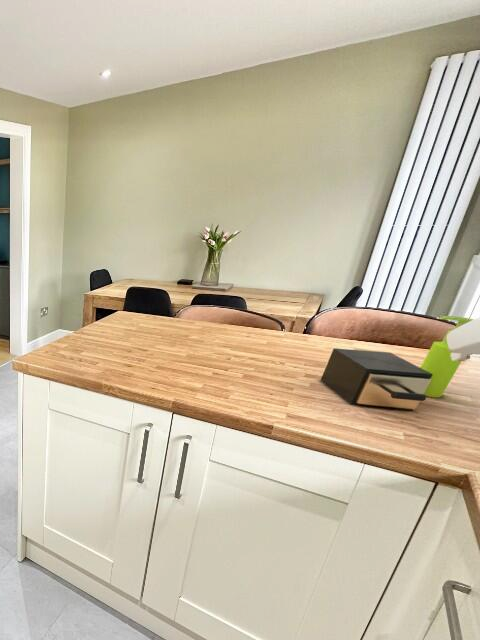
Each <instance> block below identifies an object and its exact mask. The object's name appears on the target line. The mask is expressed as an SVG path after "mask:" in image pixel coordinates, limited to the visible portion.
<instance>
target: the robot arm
mask: <svg viewBox="0 0 480 640" xmlns="http://www.w3.org/2000/svg"><path fill="white" fill-rule="evenodd" d="M453 329H454V330H452V329H451V330H452V331H451V332H449V333H448V334H447V345H448V348H449V350H450V352H452V353H451V359H452V360H453V361H461V362H466V361H467V360H470V359H471V356H472V355H478V356H480V316H478V317H476V318H474V320H472V321H470V322H468V323H465V324H463V325H461V326H460V327H458V328H456V329H455V328H453Z"/></svg>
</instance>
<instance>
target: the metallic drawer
mask: <svg viewBox="0 0 480 640" xmlns="http://www.w3.org/2000/svg"><path fill="white" fill-rule="evenodd" d="M430 382H431V379H429V378H426V377H419V376H409V375H397V374H386V373H374V372H369V373H368V375H367V378H366V380H365V382H364V384H363V386H362V388H361V390H360V392H359V395H358V397H357V399H356V401H355V402H357V403H358V404H367V405H377V406H387V407H397V408H407V409H414V410H417V407H418V405H419V404H420V402H425V401H426V399H427V396H426V395H425V394H424V393H425V391H426V389H427V387H428V385H429V383H430Z"/></svg>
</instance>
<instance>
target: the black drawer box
mask: <svg viewBox="0 0 480 640" xmlns="http://www.w3.org/2000/svg"><path fill="white" fill-rule="evenodd" d="M420 367H421V366H417V365H416V364H414V363H412V362H409V361H408V360H405V359H404V358H402V357H400V356H398V355H396V354H394V353H392V352H387V351H376V350H375V351H373V350H363V349H362V350H360V349H347V348H336V347H335V348H333V349H332V351H331V354H330V356H329V358H328V361H327V363H326V365H325V369H324V371H323V373H322V376H321V378H320V382H321V383H323V384H324V385H325V386H327V387H328V388H329V389H330V390H332V391H333V392H334V393H336V394H337V395H338V396H339V397H340V398H342V400H345V401H346V402H347V403H348V404H350V405H353V406H362V407H363V406H364V407H371V408H373V407H374V408H384V409H391V410H392V409H393V410H402V411H404V410H405V411H411V412H412V411H414V410H415V409H407V408H397V407H387V406H377V405H367V404H358V403H357V402H355V401H356V399H357V397H358V395H359V392H360V390H361V388H362V386H363V384H364V382H365V380H366V378H367V375H368V373H369V372H374V373H386V374H397V375H409V376H419V377H426V378H429V379H431V377H432V375H433V374H431V373H429V372H427V371H425V370H423V369H422V368H420Z"/></svg>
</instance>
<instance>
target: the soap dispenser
mask: <svg viewBox="0 0 480 640" xmlns="http://www.w3.org/2000/svg"><path fill="white" fill-rule="evenodd" d="M440 319H441V320H442V321H443V320H445V321H447V320H448V321H449V320H450V321H457V323H456V325H455V327H454V328H452V329H448V330H447V331H446V333H445V335H444V337H443V339H442V341H433V343H432V345H431V346H430V349H428V352H427V354H426V355H425V356H426V357H425V358H424V360H423V362H422V364H421V365H420V366H419V367H420V368H422V369H423V370H425V371H427V372H429V373H431V374H433V375H432V377H431V382H430V383H429V385H428V387H427V389H426V391H425V393H424V394H425V395H426V397H429V398H441V397H442V396H443V394H444V393H445V391H446V390H447V387H448V386H449V384H450V383H451V381H452V379H453V377H454V375H455V374H456V372H457V370H458V368H459V367H460V365H461V363H462V361H453V360H452V359H451V353H452V352H450V350H449V348H448V345H447V334H448V333H449V332H451V331H452V330H454V329H456V328H458V327H460V326H461V325H463V324H465V323H468V322H470V321H472V320H474V319H475V318H474V319H473V318H470V317H464V316H456V315H441V316H440Z"/></svg>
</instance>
